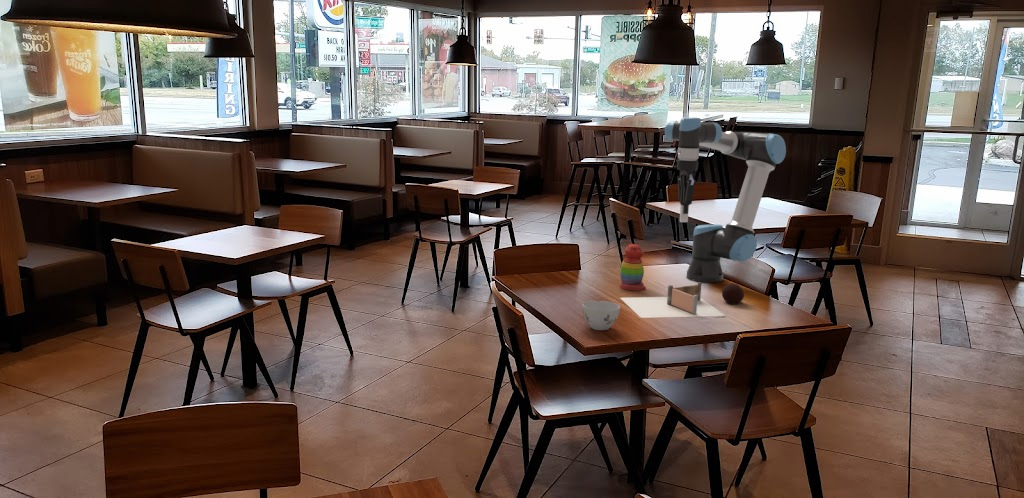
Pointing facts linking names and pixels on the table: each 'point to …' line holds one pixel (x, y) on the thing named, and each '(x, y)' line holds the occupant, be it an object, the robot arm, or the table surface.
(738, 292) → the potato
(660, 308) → the board
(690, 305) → the fence panel
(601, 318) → the teacup
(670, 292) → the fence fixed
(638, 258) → the stacking bear
